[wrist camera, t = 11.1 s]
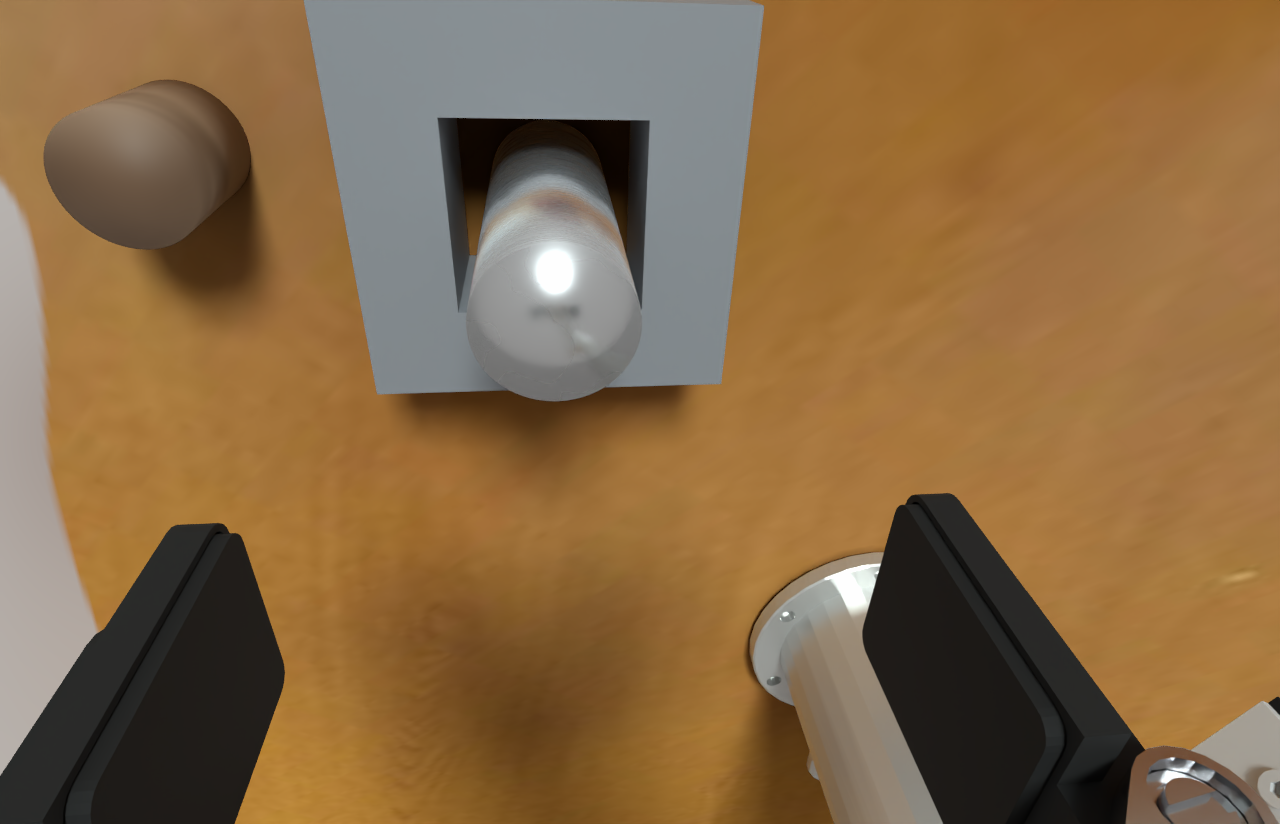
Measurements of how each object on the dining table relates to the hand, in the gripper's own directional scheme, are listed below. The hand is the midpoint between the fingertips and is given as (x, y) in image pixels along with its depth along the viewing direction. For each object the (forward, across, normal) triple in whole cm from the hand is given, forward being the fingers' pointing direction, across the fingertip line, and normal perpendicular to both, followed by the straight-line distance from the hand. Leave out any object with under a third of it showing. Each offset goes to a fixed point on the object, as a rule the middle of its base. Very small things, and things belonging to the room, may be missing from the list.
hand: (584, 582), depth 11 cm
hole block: (+20, 0, -1) cm, 20 cm away
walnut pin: (+19, +12, -2) cm, 23 cm away
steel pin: (+20, 0, -1) cm, 20 cm away
